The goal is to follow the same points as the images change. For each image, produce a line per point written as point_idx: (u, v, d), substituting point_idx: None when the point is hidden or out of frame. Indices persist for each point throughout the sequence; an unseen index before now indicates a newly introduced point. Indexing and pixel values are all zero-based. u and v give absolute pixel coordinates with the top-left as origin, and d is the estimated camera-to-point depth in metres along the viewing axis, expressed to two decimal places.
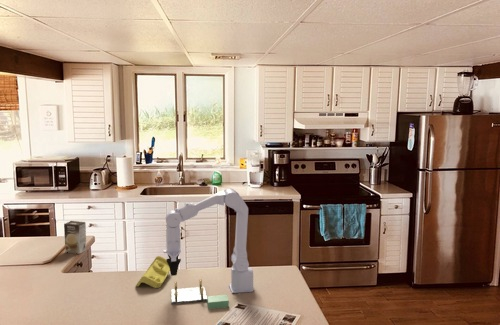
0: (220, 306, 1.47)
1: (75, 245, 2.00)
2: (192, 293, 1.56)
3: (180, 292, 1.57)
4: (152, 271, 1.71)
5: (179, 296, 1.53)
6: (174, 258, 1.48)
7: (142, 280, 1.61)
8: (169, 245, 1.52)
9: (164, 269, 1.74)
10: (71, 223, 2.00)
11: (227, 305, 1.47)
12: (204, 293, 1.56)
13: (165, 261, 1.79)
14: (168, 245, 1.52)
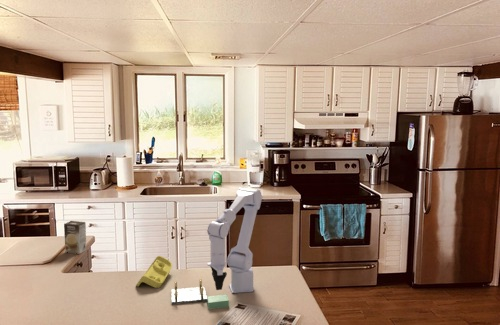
0: (220, 306, 1.47)
1: (75, 245, 2.00)
2: (192, 293, 1.56)
3: (180, 292, 1.57)
4: (152, 271, 1.71)
5: (179, 296, 1.53)
6: (221, 272, 1.40)
7: (142, 280, 1.61)
8: (214, 258, 1.44)
9: (164, 269, 1.74)
10: (71, 223, 2.00)
11: (227, 305, 1.47)
12: (204, 293, 1.56)
13: (165, 261, 1.80)
14: (213, 258, 1.44)
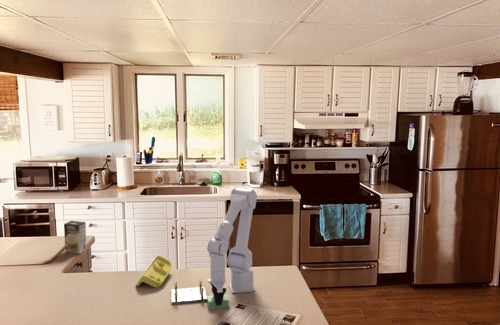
0: (220, 305, 1.47)
1: (75, 245, 2.00)
2: (192, 293, 1.56)
3: (180, 292, 1.57)
4: (152, 271, 1.71)
5: (179, 296, 1.53)
6: (220, 289, 1.41)
7: (142, 280, 1.62)
8: (214, 275, 1.45)
9: (164, 269, 1.74)
10: (71, 223, 2.00)
11: (227, 304, 1.47)
12: (204, 293, 1.56)
13: (165, 261, 1.80)
14: (213, 275, 1.45)
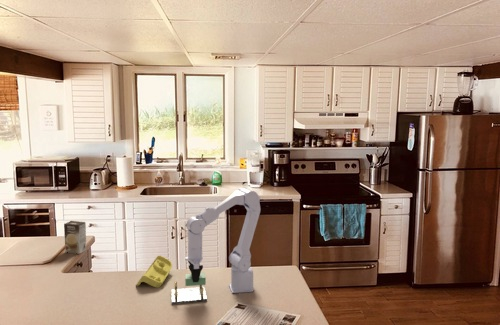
0: (197, 283, 1.50)
1: (75, 245, 2.00)
2: (192, 293, 1.56)
3: (180, 292, 1.57)
4: (153, 270, 1.71)
5: (179, 296, 1.53)
6: (197, 266, 1.45)
7: (142, 279, 1.62)
8: (191, 252, 1.49)
9: (165, 269, 1.75)
10: (71, 223, 2.00)
11: (204, 282, 1.51)
12: (204, 293, 1.56)
13: (166, 261, 1.80)
14: (190, 252, 1.49)
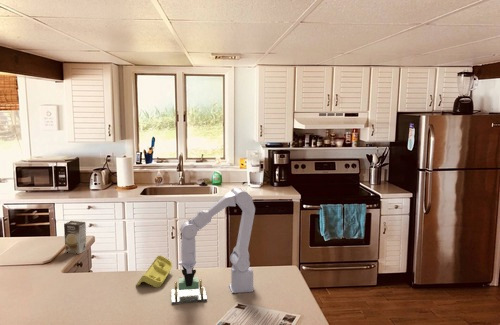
0: (190, 287, 1.52)
1: (75, 245, 2.00)
2: (192, 293, 1.56)
3: (180, 292, 1.57)
4: (153, 270, 1.72)
5: (179, 296, 1.53)
6: (190, 270, 1.47)
7: (142, 279, 1.62)
8: (184, 257, 1.50)
9: (165, 268, 1.75)
10: (71, 223, 2.00)
11: (197, 286, 1.53)
12: (204, 293, 1.56)
13: (166, 260, 1.80)
14: (183, 257, 1.51)
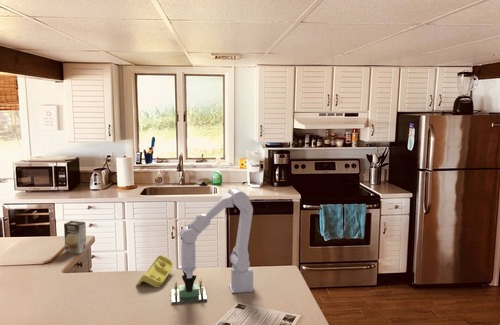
0: (191, 294, 1.53)
1: (75, 245, 2.00)
2: None
3: None
4: (153, 270, 1.72)
5: None
6: (190, 275, 1.47)
7: (143, 279, 1.62)
8: (184, 261, 1.51)
9: (165, 268, 1.75)
10: (71, 223, 2.00)
11: (197, 293, 1.54)
12: (204, 293, 1.56)
13: (167, 260, 1.80)
14: (183, 261, 1.51)
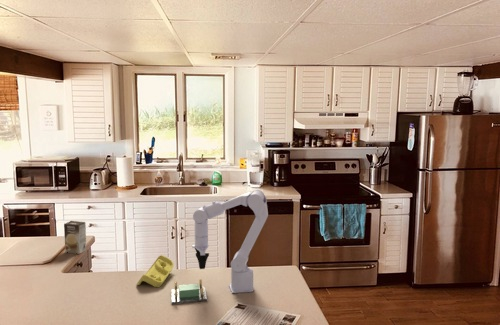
0: (191, 294, 1.53)
1: (75, 245, 2.00)
2: None
3: None
4: (154, 270, 1.72)
5: None
6: (203, 252, 1.56)
7: (143, 279, 1.63)
8: (198, 240, 1.60)
9: (166, 268, 1.75)
10: (71, 223, 2.00)
11: (197, 293, 1.54)
12: (204, 293, 1.56)
13: (167, 260, 1.80)
14: (197, 240, 1.60)
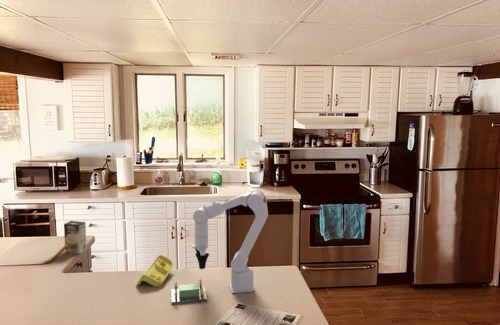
0: (191, 294, 1.53)
1: (75, 245, 2.00)
2: None
3: None
4: (153, 270, 1.72)
5: None
6: (203, 252, 1.56)
7: (143, 279, 1.63)
8: (198, 240, 1.60)
9: (165, 268, 1.75)
10: (71, 223, 2.00)
11: (197, 293, 1.54)
12: (204, 293, 1.56)
13: (167, 260, 1.81)
14: (197, 240, 1.60)
